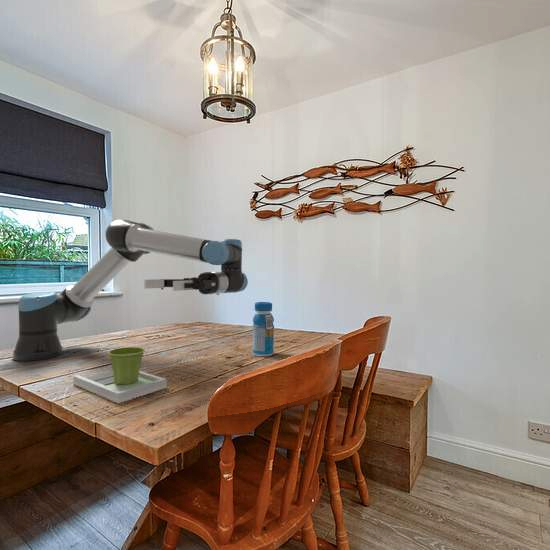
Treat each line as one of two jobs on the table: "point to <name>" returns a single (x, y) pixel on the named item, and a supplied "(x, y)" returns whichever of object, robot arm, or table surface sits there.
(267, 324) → the beverage bottle
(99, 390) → the box
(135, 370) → the plant pot
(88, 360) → the table surface
